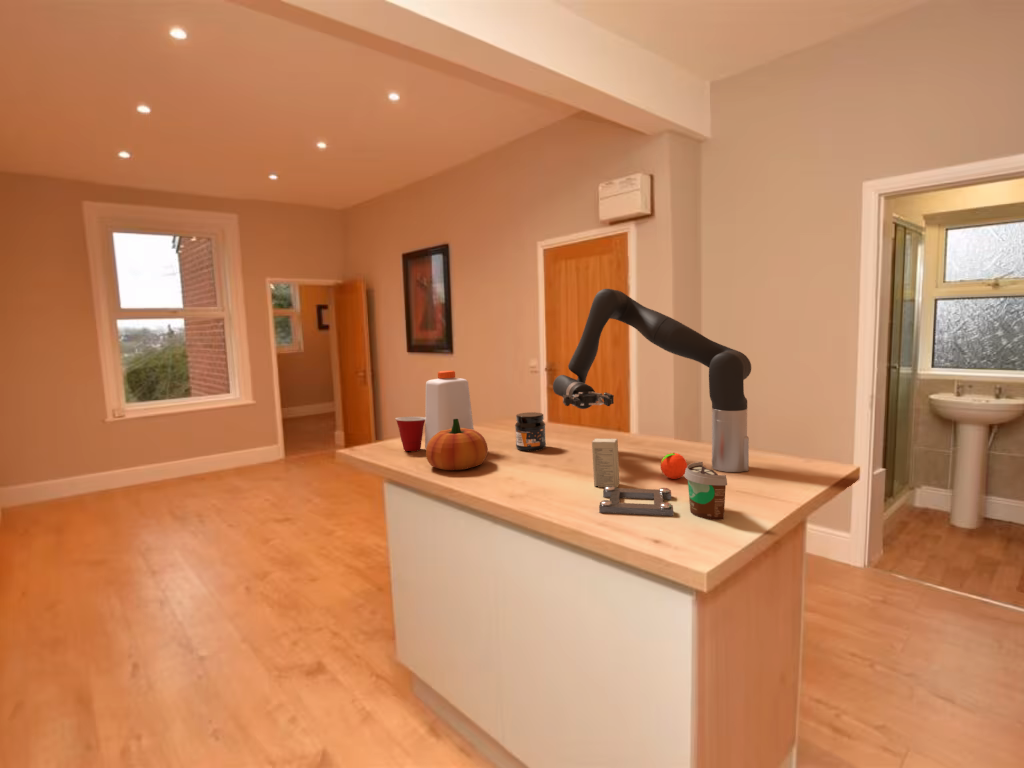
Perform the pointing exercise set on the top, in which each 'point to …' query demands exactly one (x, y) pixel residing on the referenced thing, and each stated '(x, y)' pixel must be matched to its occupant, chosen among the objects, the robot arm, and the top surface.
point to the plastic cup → (411, 432)
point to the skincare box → (605, 462)
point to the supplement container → (530, 431)
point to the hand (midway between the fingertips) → (594, 403)
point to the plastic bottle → (446, 404)
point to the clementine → (673, 465)
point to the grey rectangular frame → (637, 509)
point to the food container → (706, 491)
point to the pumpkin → (456, 448)
